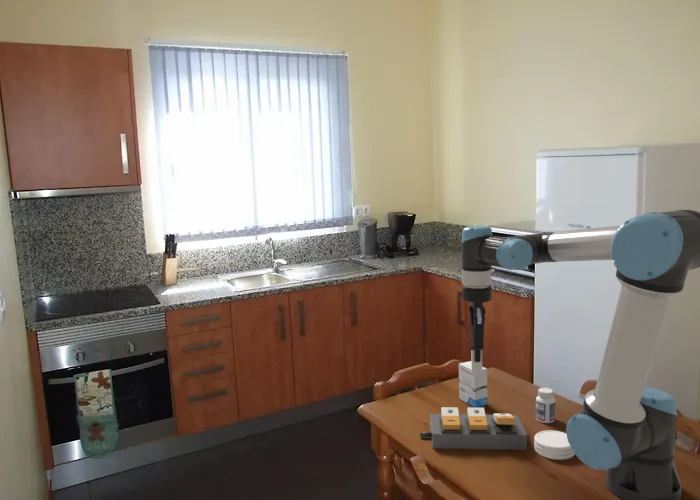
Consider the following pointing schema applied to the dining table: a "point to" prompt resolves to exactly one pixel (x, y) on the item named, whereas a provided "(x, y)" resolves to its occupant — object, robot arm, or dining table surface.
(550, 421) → the pill bottle
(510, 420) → the block
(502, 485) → the dining table surface
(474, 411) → the rocker
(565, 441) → the coaster
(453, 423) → the rocker
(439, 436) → the rocker switch panel
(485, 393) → the ink box
